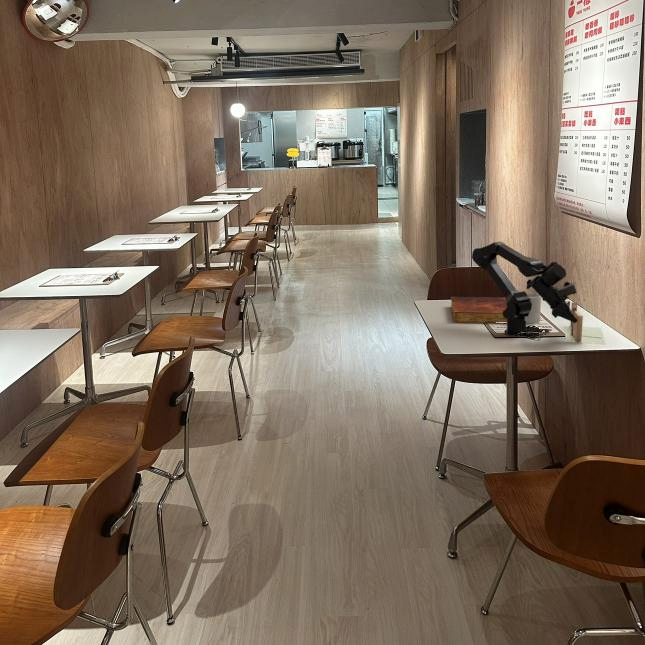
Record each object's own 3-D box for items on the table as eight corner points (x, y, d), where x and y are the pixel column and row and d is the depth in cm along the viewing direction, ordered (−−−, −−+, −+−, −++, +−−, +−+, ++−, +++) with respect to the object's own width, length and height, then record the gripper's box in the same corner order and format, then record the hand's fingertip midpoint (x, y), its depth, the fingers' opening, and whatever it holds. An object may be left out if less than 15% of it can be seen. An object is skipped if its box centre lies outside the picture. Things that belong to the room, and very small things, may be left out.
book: (514, 325, 319) (515, 312, 318) (453, 324, 322) (453, 312, 320) (506, 308, 348) (506, 297, 347) (450, 308, 350) (450, 296, 349)
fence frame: (571, 335, 299) (572, 310, 297) (570, 325, 313) (571, 301, 311) (576, 335, 298) (578, 310, 296) (575, 326, 313) (577, 302, 311)
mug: (540, 325, 316) (541, 297, 314) (517, 324, 318) (519, 296, 316) (539, 318, 328) (541, 291, 325) (518, 317, 330) (519, 291, 327)
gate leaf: (576, 341, 289) (578, 316, 287) (572, 334, 298) (573, 310, 296) (581, 341, 289) (583, 316, 287) (577, 335, 298) (578, 310, 296)
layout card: (565, 342, 290) (565, 341, 290) (564, 326, 314) (564, 325, 313) (605, 345, 287) (605, 344, 286) (601, 328, 310) (601, 327, 310)
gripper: (563, 280, 279) (594, 313, 279) (564, 271, 297) (593, 302, 296) (538, 301, 283) (569, 333, 283) (540, 291, 301) (569, 321, 300)
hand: (576, 322), depth 290 cm, fingers closed, pressing on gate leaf
